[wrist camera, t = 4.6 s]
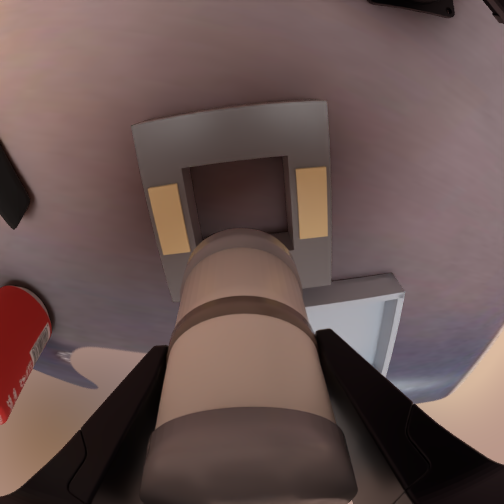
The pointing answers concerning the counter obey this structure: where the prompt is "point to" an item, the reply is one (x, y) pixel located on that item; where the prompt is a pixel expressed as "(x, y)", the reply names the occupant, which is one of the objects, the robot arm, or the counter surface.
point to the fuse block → (234, 149)
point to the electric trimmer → (11, 193)
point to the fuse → (245, 387)
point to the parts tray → (359, 314)
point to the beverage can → (19, 341)
